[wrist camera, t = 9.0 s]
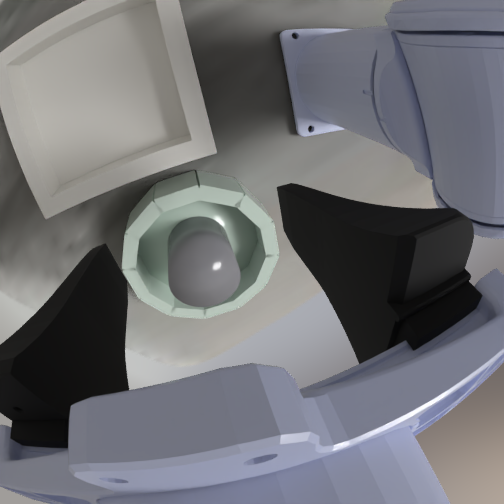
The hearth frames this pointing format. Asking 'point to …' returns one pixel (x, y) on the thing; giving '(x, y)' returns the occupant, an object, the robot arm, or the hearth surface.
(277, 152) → the hearth surface
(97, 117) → the parts tray
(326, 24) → the hearth surface
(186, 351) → the hearth surface
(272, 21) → the hearth surface
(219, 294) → the grey short cylinder
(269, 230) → the sage bowl
